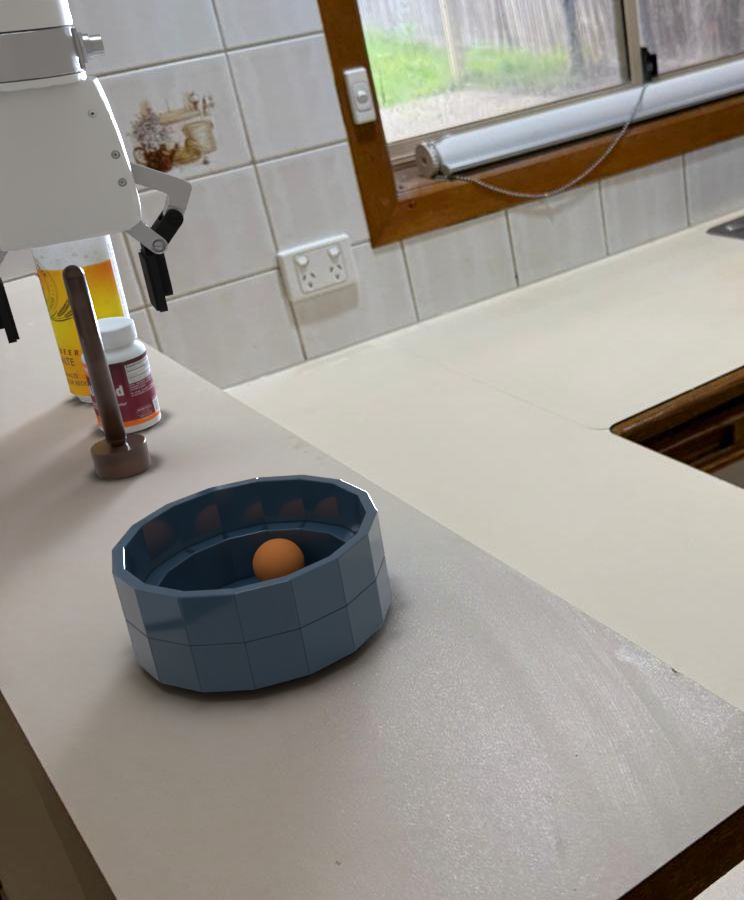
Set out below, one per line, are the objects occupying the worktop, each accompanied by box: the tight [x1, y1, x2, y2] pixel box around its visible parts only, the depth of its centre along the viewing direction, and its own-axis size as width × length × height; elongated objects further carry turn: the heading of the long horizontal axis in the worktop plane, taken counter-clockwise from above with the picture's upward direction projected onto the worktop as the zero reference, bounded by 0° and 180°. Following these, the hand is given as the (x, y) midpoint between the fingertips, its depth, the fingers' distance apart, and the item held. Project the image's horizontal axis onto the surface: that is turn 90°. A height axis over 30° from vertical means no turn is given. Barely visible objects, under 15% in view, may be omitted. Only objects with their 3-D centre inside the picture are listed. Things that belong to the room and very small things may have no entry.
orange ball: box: [253, 538, 305, 582], centre depth 64 cm, size 3×3×3 cm
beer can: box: [30, 234, 131, 404], centre depth 96 cm, size 6×6×15 cm
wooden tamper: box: [62, 265, 153, 481], centre depth 80 cm, size 4×4×15 cm
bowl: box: [111, 474, 393, 693], centre depth 60 cm, size 13×13×6 cm
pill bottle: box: [81, 317, 162, 434], centre depth 90 cm, size 5×5×8 cm
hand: (88, 322), depth 79 cm, fingers open, 9 cm apart
